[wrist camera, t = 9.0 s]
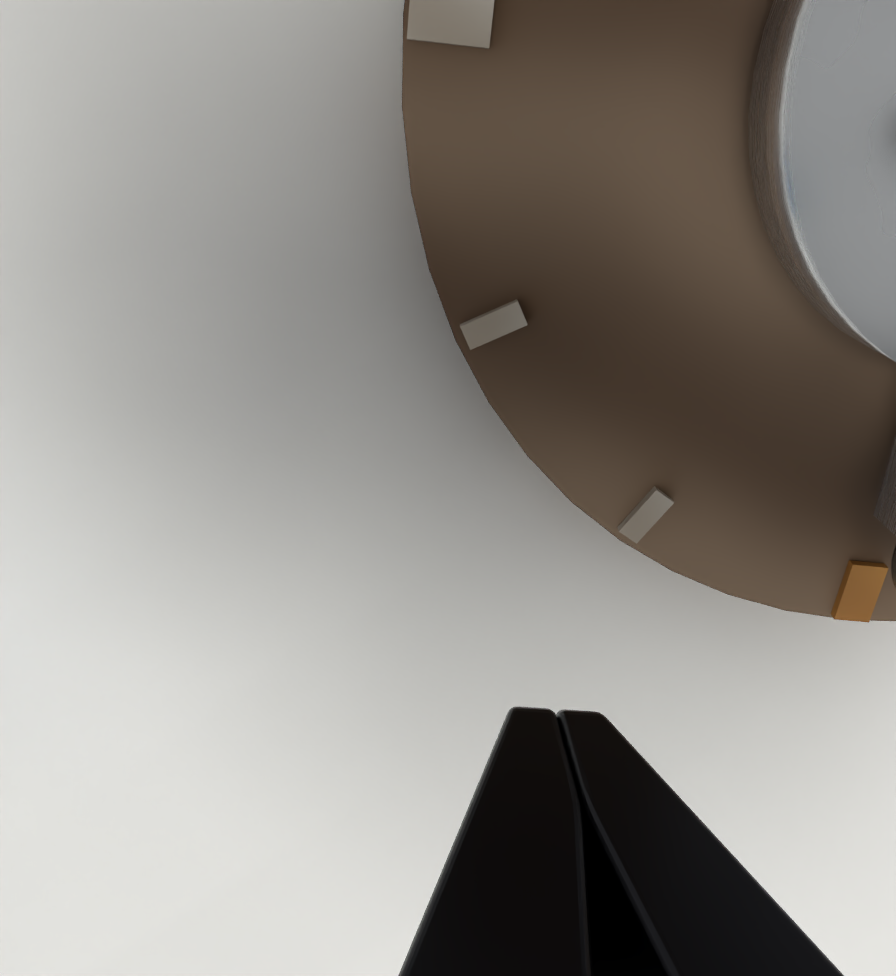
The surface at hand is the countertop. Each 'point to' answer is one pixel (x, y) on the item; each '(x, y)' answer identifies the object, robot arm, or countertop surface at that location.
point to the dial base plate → (646, 291)
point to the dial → (832, 168)
